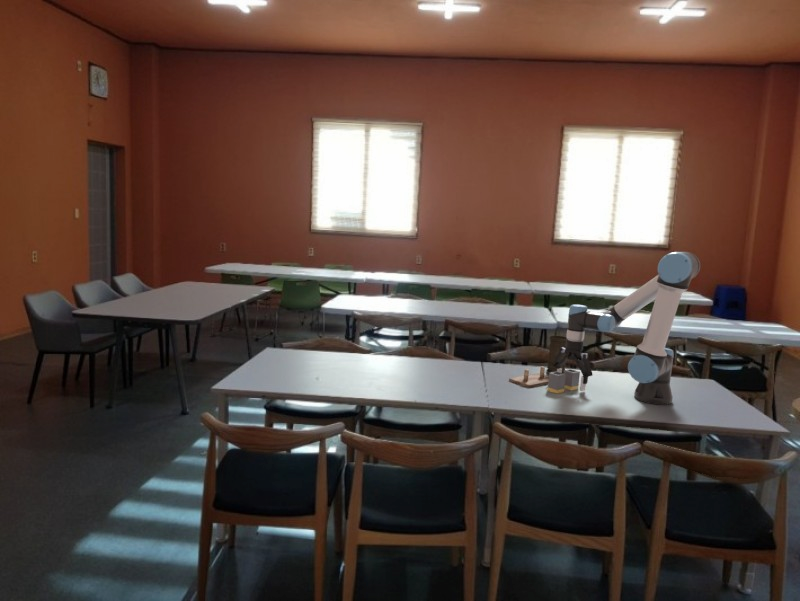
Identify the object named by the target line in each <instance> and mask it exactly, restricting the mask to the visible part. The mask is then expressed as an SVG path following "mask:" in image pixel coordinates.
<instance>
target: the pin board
mask: <svg viewBox="0 0 800 601" xmlns="http://www.w3.org/2000/svg"><path fill="white" fill-rule="evenodd" d="M539 368H540V369H539V373H532V374H530V369H528V368H525V369H524V371H523V372H524V373H523V375H521V376H515V377H509V378H508V381H509V382H511V383H514V384H517V385H520V386H523V387H526V388H529V389H530V388H535V387H539V386H546V385H548V379H549V375H548V376H547V375H545V370H546V367H545V366H540V367H539Z"/></svg>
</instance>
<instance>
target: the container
mask: <svg viewBox="0 0 800 601" xmlns="http://www.w3.org/2000/svg"><path fill="white" fill-rule="evenodd" d="M549 339H550V343H549V354H548V360H547V361H548V362H547V367H546V369H545V370H546V373H547V374H548V373H550V372H556V368H555V367H554V366H553V365H552V364H553V362H554V360H555V358H556V356H557V355H558V353H559V349H560V348H562V347H565V346H566V340H567V338H566V336H563V335H562V336H561V335H551V336H549ZM565 349H566V347H565ZM565 355H566V353H564V354H563V356H562V358H561V360H562V359H563V357H564V356H565ZM561 360H560V361H561ZM565 367H566V362H565V363H564V364H563V365H562V367H561V368H562V373H563V372H564V370H566V368H565Z"/></svg>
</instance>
